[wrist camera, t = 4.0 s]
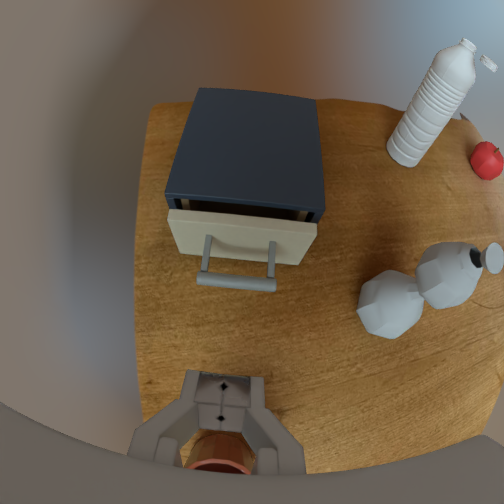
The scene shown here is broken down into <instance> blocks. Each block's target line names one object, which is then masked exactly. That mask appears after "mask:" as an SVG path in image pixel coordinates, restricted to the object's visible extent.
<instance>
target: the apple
mask: <svg viewBox="0 0 504 504" xmlns="http://www.w3.org/2000/svg"><path fill="white" fill-rule="evenodd" d="M470 162H471V165H472V167H473V169H474V172H475V173H476V174H477V175H478V176H479V177H481V178H482V179H484V180H492V179H494V178H495V177H497V176H499V175H500V174H501V172H502V170H503V164H504V160H503V156H502V155H501V153H500V151H499V148H496V147H495V146H494V145H493V144H492V143H490V142H487V141H486V142H480V143H479V144H477V145H476V147H475V149H474V151H473V153H472V154H471V160H470Z"/></svg>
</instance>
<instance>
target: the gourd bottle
mask: <svg viewBox="0 0 504 504" xmlns="http://www.w3.org/2000/svg"><path fill="white" fill-rule="evenodd" d="M503 264H504V253H503V250H502V248H501V246H500V245H499V244H498V243H492V244H490V245H489V246H488V247H487V248H486V249H485V250H483V251H482V253H481V252H480V251H479V250H478V249H477V248H476V247H475V246H474V245H473V244H467V243H463V242H441V243H438V244H435V245H432V246H430V247H429V248H427V249H426V251H425V252H424V253H423V255H422V257H421V259H420V261H419V263H418V265H417V267H416V269H415V277H416V278H414V277H411V276H408V275H406V274H403V273H401V272H398V271H394V270H387V271H384V272H382V273H381V274H379V275H377V276H376V277H374V278H372V279H371V280H369V281H367V282H366V283H364V284H363V285H362V288H361V292H360V297H359V301H358V306H357V311H356V312H357V314H358V315H359V317H360V319H361V321H362V323H363V325H364V327H365V329H366V330H367V332H368V333H371V334H375V335H378V336H382V337H385V338H389V339H395V338H397V337H398V336H400V335H401V334H403V333H404V332H405V331H406V330H408V329H409V328H410V327H411V326H413V325H414V324H415V323H416V322H417V321H418V320H419V318H420V316H421V314H422V310H423V305H424V300H426V301H427V302H428V303H429V304H430V305H431V306H432V307H433V308H435V309H443V308H448V307H452V306H457V305H459V304H462V303H463V302H464V301H465V300H466V299H468V298H469V297H470V296H471V294H472V293H473V291H474V289H475V287H476V284H477V282H478V279H479V278H480V276H481V273H482V270H483V267H484V268H485V269H487V270H488V271H490V272H491V273H493V274H497V273H499V272H500V271H501V269H502V267H503Z"/></svg>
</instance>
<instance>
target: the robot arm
mask: <svg viewBox="0 0 504 504" xmlns="http://www.w3.org/2000/svg"><path fill="white" fill-rule="evenodd" d="M199 428H200V429H210V430H221V431H229V432H239V433H242V435H243V437H244V438H245V440H246V441H247V443H248V444H249V446H250V447H251V449H252V450H253V452H254V453H255V455H256V458H255V461H254V465H253V468H252V471H251V474H250V475H247V474H231V473H220V472H210V471H202V470H195V469H188V468H183V465H182V460H181V455H180V449H181V448H182V447H183V446H184V445H185V444H186V443H187V442H188V440H189V439H190V438H191V437H192V436H193V435H194V434H195V433H196V432H197V431H198V430H199ZM0 504H504V447H503V446H502V445H500V444H499V443H498V442H496V441H494V440H493V439H491V438H490V437H488V436H486V435H477V436H474V437H472V438H469V439H467V440H464V441H462V442H459V443H456V444H454V445H451V446H448V447H445V448H442V449H439V450H436V451H433V452H429V453H426V454H423V455H419V456H416V457H412V458H408V459H404V460H400V461H396V462H391V463H387V464H382V465H377V466H371V467H366V468H360V469H353V470H346V471H338V472H328V473H317V474H306V466H305V458H304V451H303V447H302V446H301V444H300V443H299V442H298V441H297V440H296V439H295V438H294V437H293V436H292V435H291V434H290V432H289V431H288V430H287V429H286V428H285V427H284V426H283V425H282V423H281V422H280V421H279V420H278V419H277V418H276V417H275V415H274V414H273V413H272V412H271V411H270V410H269V409H265V395H264V378H263V377H253V376H240V375H228V374H217V373H210V372H203V371H195V370H189V369H188V370H187V372H186V375H185V379H184V383H183V387H182V391H181V395H180V399H179V400H178V399H175V400H174V401H173V402H171V403H170V404H169V405H167V406H166V407H165V408H164V409H162V410H161V411H160V412H158V413H157V414H156V415H154V416H153V417H152V418H150V419H149V420H147V421H146V422H145V423H143V424H142V425H141V426H139V427H138V428H137V429H135V431H134V435H133V438H132V441H131V444H130V447H129V450H128V453H127V455H123V454H120V453H116V452H113V451H109V450H106V449H103V448H100V447H97V446H94V445H92V444H89V443H86V442H83V441H81V440H78V439H75V438H73V437H70V436H68V435H65V434H63V433H61V432H58V431H56V430H54V429H51V428H49V427H47V426H44V425H43V424H41V423H38V422H36V421H34V420H32V419H30V418H28V417H27V416H25V415H23V414H21V413H19V412H17V411H15V410H13V409H12V408H10V407H8V406H6V405H5V404H3V403H1V402H0Z"/></svg>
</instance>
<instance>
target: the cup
mask: <svg viewBox="0 0 504 504" xmlns="http://www.w3.org/2000/svg"><path fill="white" fill-rule="evenodd" d="M253 465H254V463H253V460H252V457H251V454H250V451H249V449H248V448H247V446H246V445H245V444H244V443H243V442H242V441H241V440H239V439H237V438H236V437H233V436H230V435H226V434H213V435H209V436H206V437H204V438H202V439H201V440H200V441H198V442H197V443H196V444H195V446H194V448H193V449H192V451H191V453H190V455H189V457H188V459H187V461H186V463H185V465H184V467H183V468H188V469H195V470H202V471H210V472H220V473H231V474H247V475H250V474H251V471H252V468H253Z"/></svg>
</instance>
